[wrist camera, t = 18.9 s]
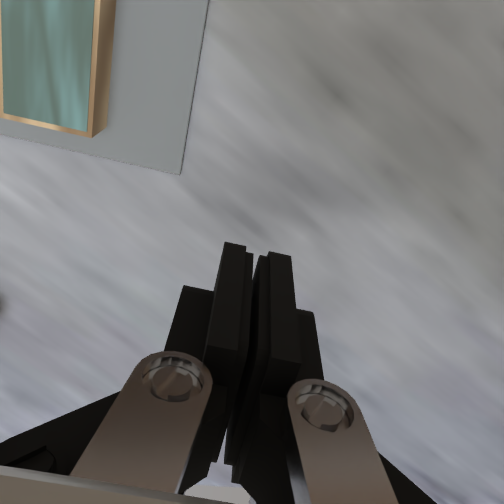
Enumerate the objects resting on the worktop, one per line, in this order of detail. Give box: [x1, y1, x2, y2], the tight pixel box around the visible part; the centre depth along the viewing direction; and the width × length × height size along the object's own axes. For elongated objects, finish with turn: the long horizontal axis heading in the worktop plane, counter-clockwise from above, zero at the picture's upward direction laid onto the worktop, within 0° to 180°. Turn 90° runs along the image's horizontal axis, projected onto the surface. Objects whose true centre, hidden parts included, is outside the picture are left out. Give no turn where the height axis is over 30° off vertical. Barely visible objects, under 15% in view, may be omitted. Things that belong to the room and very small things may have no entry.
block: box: [0, 0, 116, 138], centre depth 32 cm, size 4×10×6 cm
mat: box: [0, 0, 209, 175], centre depth 34 cm, size 15×14×1 cm
